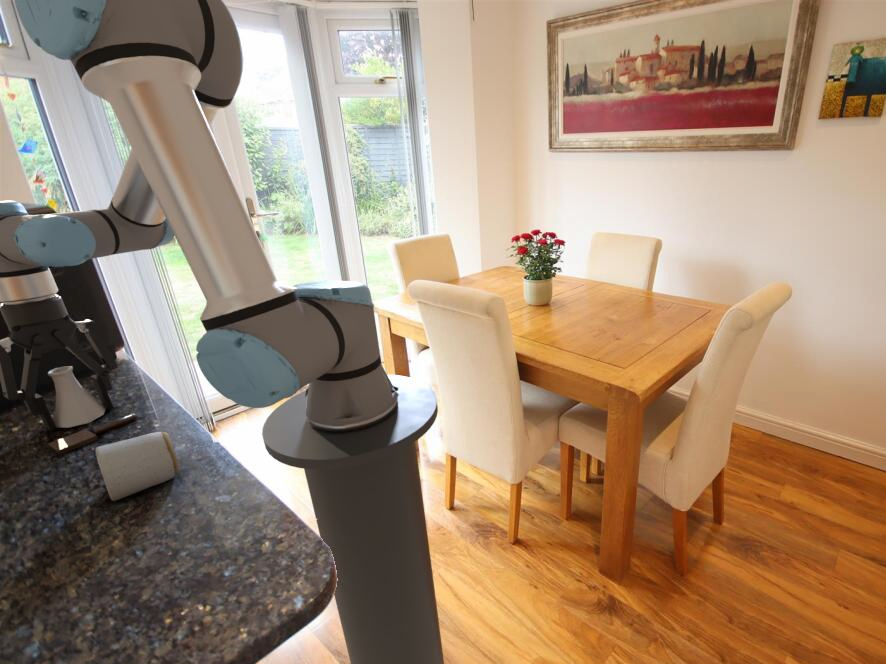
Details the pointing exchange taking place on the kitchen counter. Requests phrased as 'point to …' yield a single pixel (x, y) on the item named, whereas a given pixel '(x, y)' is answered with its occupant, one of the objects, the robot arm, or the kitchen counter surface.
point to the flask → (73, 400)
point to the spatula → (86, 436)
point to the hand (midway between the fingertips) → (80, 417)
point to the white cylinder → (137, 463)
